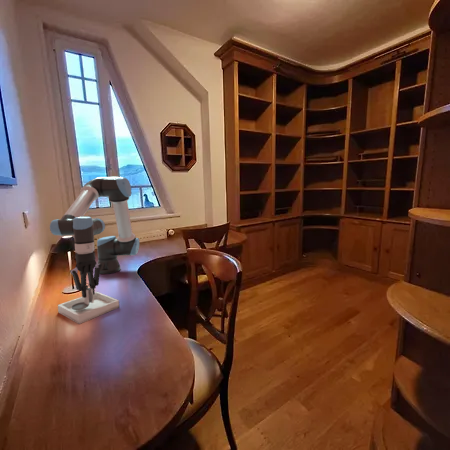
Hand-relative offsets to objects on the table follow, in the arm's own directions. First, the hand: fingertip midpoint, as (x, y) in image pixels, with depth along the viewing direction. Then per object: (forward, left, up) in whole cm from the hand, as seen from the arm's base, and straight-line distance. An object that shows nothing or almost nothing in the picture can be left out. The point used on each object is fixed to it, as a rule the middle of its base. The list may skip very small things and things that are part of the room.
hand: (89, 302), depth 113 cm
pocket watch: (+2, 0, -1) cm, 3 cm away
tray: (0, 0, -3) cm, 3 cm away
